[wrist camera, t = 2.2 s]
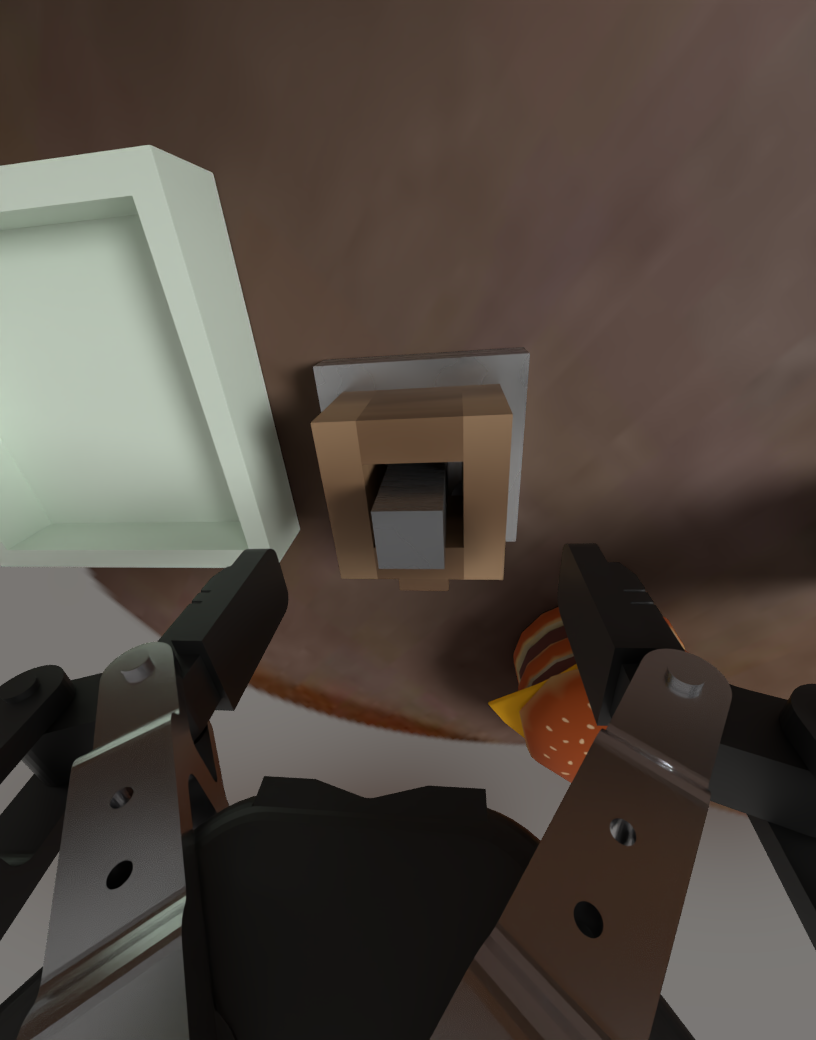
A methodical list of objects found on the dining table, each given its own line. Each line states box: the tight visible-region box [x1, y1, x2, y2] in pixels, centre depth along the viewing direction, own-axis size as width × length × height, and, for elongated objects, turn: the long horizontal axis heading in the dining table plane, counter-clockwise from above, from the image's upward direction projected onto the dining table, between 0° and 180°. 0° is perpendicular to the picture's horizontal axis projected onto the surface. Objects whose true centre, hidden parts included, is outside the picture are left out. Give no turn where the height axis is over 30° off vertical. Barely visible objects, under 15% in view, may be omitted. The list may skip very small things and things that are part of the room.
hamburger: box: [488, 607, 689, 783], centre depth 21 cm, size 9×10×7 cm
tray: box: [0, 145, 300, 568], centre depth 17 cm, size 14×14×3 cm
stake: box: [313, 347, 530, 569], centre depth 15 cm, size 8×8×8 cm
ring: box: [311, 384, 513, 591], centre depth 15 cm, size 7×6×4 cm
